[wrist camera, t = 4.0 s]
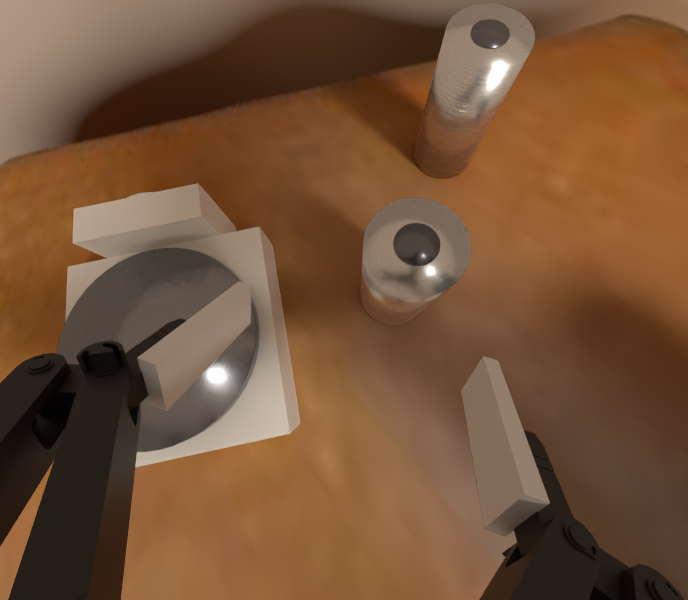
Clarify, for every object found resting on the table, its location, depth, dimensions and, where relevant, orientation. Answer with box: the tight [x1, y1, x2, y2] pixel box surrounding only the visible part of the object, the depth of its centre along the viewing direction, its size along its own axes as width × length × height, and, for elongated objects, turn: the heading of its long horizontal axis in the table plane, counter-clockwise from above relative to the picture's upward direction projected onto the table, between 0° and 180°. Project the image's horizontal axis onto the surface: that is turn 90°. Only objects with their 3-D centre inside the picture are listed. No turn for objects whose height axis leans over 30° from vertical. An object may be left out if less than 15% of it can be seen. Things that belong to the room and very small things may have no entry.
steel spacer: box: [413, 3, 535, 179], centre depth 24 cm, size 6×6×11 cm
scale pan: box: [57, 248, 260, 452], centre depth 21 cm, size 15×15×1 cm
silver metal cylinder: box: [360, 198, 471, 325], centre depth 21 cm, size 6×6×11 cm
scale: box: [65, 183, 301, 467], centre depth 23 cm, size 17×20×7 cm
